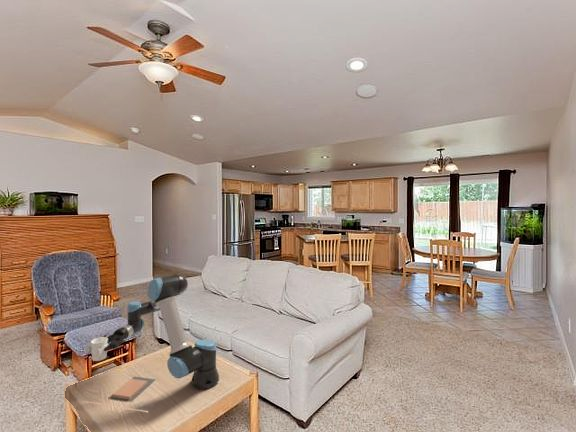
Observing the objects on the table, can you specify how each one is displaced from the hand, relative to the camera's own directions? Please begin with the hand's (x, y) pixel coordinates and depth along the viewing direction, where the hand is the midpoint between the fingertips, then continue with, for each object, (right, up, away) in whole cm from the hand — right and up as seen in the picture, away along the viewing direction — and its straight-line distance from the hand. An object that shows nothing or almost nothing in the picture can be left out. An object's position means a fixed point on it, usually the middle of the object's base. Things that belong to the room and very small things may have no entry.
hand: (91, 351), depth 161 cm
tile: (+21, -21, +9) cm, 31 cm away
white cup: (+1, -6, +5) cm, 8 cm away
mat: (+20, -23, +4) cm, 30 cm away
